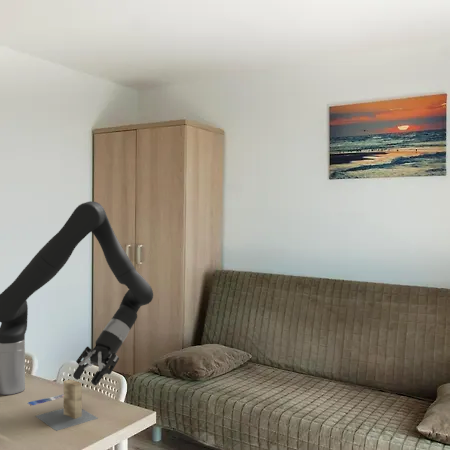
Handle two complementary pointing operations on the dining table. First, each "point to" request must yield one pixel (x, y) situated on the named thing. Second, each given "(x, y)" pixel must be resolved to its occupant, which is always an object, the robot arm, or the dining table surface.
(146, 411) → the dining table surface
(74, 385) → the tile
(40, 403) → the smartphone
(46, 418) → the mat
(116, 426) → the dining table surface
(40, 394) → the dining table surface
